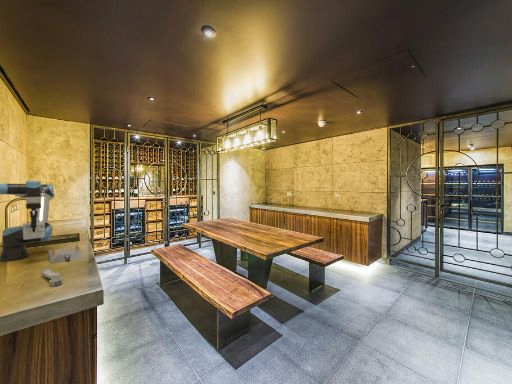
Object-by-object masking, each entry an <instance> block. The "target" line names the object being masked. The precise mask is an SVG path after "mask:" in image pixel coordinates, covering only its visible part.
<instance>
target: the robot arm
mask: <svg viewBox="0 0 512 384" xmlns="http://www.w3.org/2000/svg"><path fill="white" fill-rule="evenodd" d="M0 195H4V196H5V195H14V196H15V197H18V198H24V200H25V202H26V203H25V209H26V210H30V211H29V217H30V223H31V226H30V227H31V237H35V236H37V227H36V226H37V225H36V222H45V237H43V238H35V239H27V240H24V239H23V225H19V226H12V227H7V228H5V229H3V230H2V235H1V236H2V238H1V239H2V242H1V243H2V249H1V252H0V262H12V261H18V260H23V259H26V258H28V257H30V253H29V251H28V249H27V247H26V246H27V245H26V244H29V243H37V242H41V243H43V242H47V241H49V240H51V238H52V235H53V226H52V225H51V224H50V223H49V211H50V201H52V199H53V198H55V192H54V187H53V185H52V184H47V183H46V184H42V183H41V181H40V180H26V182H25V183H0Z"/></svg>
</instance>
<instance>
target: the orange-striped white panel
mask: <svg viewBox="0 0 512 384" xmlns="http://www.w3.org/2000/svg"><path fill="white" fill-rule="evenodd" d="M47 253H48V259H49V263H50V264H57V263H61V262H68V261H73V260H79V259H83V258H84V251H83V250H82V249H81V247H80V246H79V245H78V244H76V243H75V245H74V246H71V247H66V248H65V247H64V248H58V249H55V247H51V250H48V252H47Z"/></svg>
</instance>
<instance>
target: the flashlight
mask: <svg viewBox="0 0 512 384" xmlns="http://www.w3.org/2000/svg"><path fill="white" fill-rule="evenodd" d="M40 275H41V276H42V277H44V278H48V279H50V280H49V281H48V282H49V283H50V285H49V286H50V287H55V286H60V285H62V283H63V280H64V279H63V277H62V276H61V273H60V272H57V273H55V272H54V271H52V270H51V269H49V268H47V269H43V270H42V271H41V274H40Z"/></svg>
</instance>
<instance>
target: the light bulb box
mask: <svg viewBox="0 0 512 384" xmlns="http://www.w3.org/2000/svg"><path fill="white" fill-rule="evenodd" d="M36 225H37V226H36V227H37V236H35V237H31V227H30V226H31V222H25V223H22V226H23V239H24V240H27V239H35V238H43V237H45V222H36Z"/></svg>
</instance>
